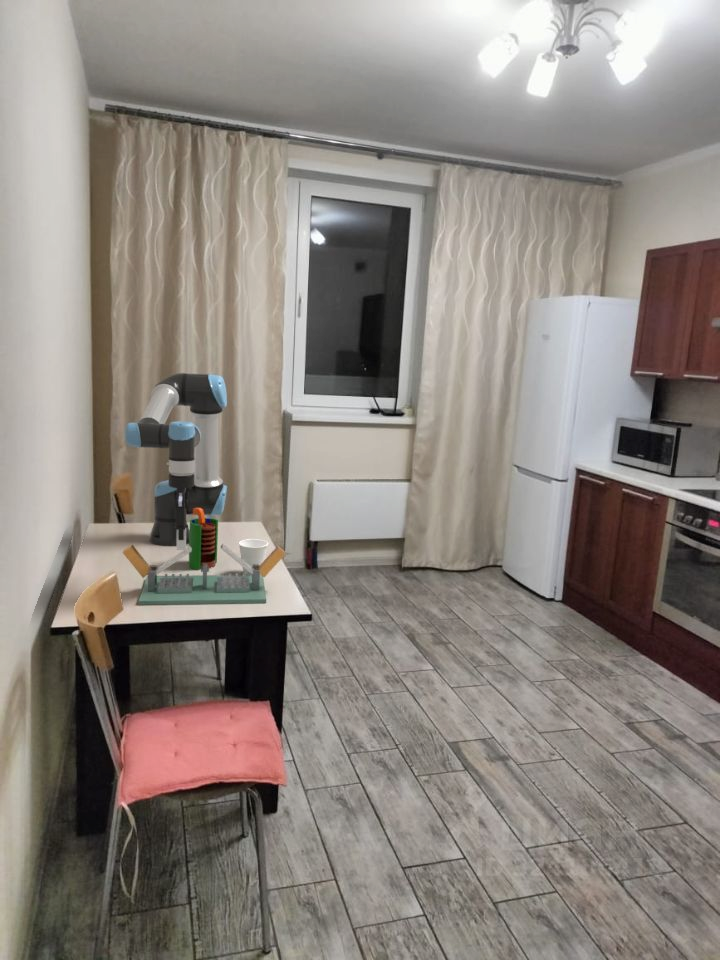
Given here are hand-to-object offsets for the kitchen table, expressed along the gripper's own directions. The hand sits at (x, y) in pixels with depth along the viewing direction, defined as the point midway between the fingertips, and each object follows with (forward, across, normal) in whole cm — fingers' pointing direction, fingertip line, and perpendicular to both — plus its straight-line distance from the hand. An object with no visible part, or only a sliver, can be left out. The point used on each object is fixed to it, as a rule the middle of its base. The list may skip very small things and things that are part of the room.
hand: (181, 549), depth 212 cm
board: (+14, 0, +7) cm, 15 cm away
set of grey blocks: (+12, 0, +7) cm, 14 cm away
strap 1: (+6, 0, -3) cm, 6 cm away
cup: (+14, -15, +22) cm, 30 cm away
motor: (+14, -25, +6) cm, 29 cm away
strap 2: (+5, 0, +18) cm, 19 cm away
